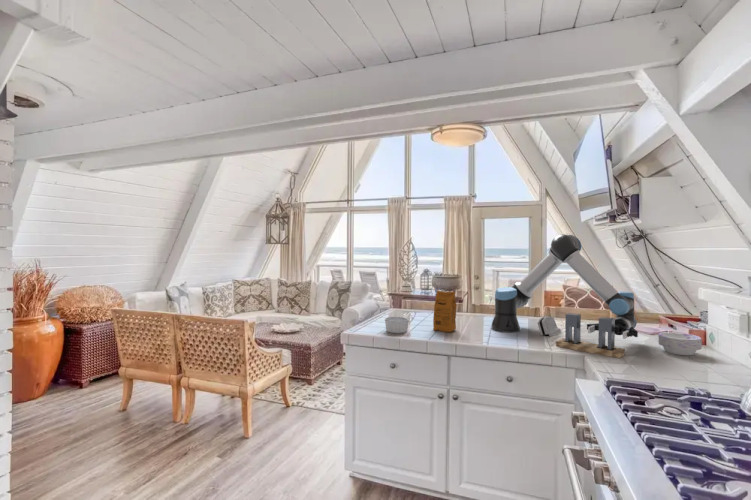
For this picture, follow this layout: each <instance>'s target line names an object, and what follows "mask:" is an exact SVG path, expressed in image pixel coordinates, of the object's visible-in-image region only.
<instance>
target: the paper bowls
mask: <svg viewBox="0 0 751 500" xmlns="http://www.w3.org/2000/svg"><path fill="white" fill-rule="evenodd" d="M657 337H658V339H657V340H658V345H660V346H662V348H663V349H664V350H665V352H667V353H670V354H673V355H678V356H693V355H695V354H696V352H697V351H700V350H702V348H703V346H702V345H703V344H702V341H703V339H702V337H700V336H698V335H695V334H691V333H690V334H689V333H684V332H673V331H669V332H668V331H667V332H665V331H664V332H659V333H658V335H657Z"/></svg>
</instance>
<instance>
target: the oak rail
mask: <svg viewBox="0 0 751 500" xmlns="http://www.w3.org/2000/svg"><path fill="white" fill-rule="evenodd" d="M555 347H559V348H564V349H569V350H574V351H575V350H576V351H578V352H583V353H584V352H585V353H591V354H594V355H595V354H596V355H600V356H605V357H611V358H616V359H621V358H622V357H623V356H624V355H625V354H626V351H625V350H626V349H625V348H621V347H614V350H613V351H611V350H608V345H605V348H604V349H600V348H598V343H593V342H587V341H582V340H580V344H573V339H572V342H571V343H567V342H565V337H563V338H560V339H558V340H555Z"/></svg>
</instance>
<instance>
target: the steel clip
mask: <svg viewBox="0 0 751 500" xmlns="http://www.w3.org/2000/svg"><path fill="white" fill-rule="evenodd" d="M615 319H616V318H614V317H613V318H612V317H605V316H601V317H599V318H598V323H599V331H598V336H597V337H598V341H597V344H598V348H600V349H604V348H605V346H606V336H607V346H608V350H611V351H613V350H614V347H615V341H616V340H615V337H616V335H615ZM606 333H607V335H606Z"/></svg>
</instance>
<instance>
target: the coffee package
mask: <svg viewBox="0 0 751 500" xmlns="http://www.w3.org/2000/svg"><path fill="white" fill-rule="evenodd" d="M456 300H457V299H456V292H455V291H442V290H437V291H436V295H435V300H434V301H435V302H434V305H433V308H434V309H433V322H432V325H433V328H432V329H433V331H439V332H441V333H442V332H444V333H452V332H454V331H455V330H456V329H457V324H456V323H457V321H456V319H457V302H456Z"/></svg>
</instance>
